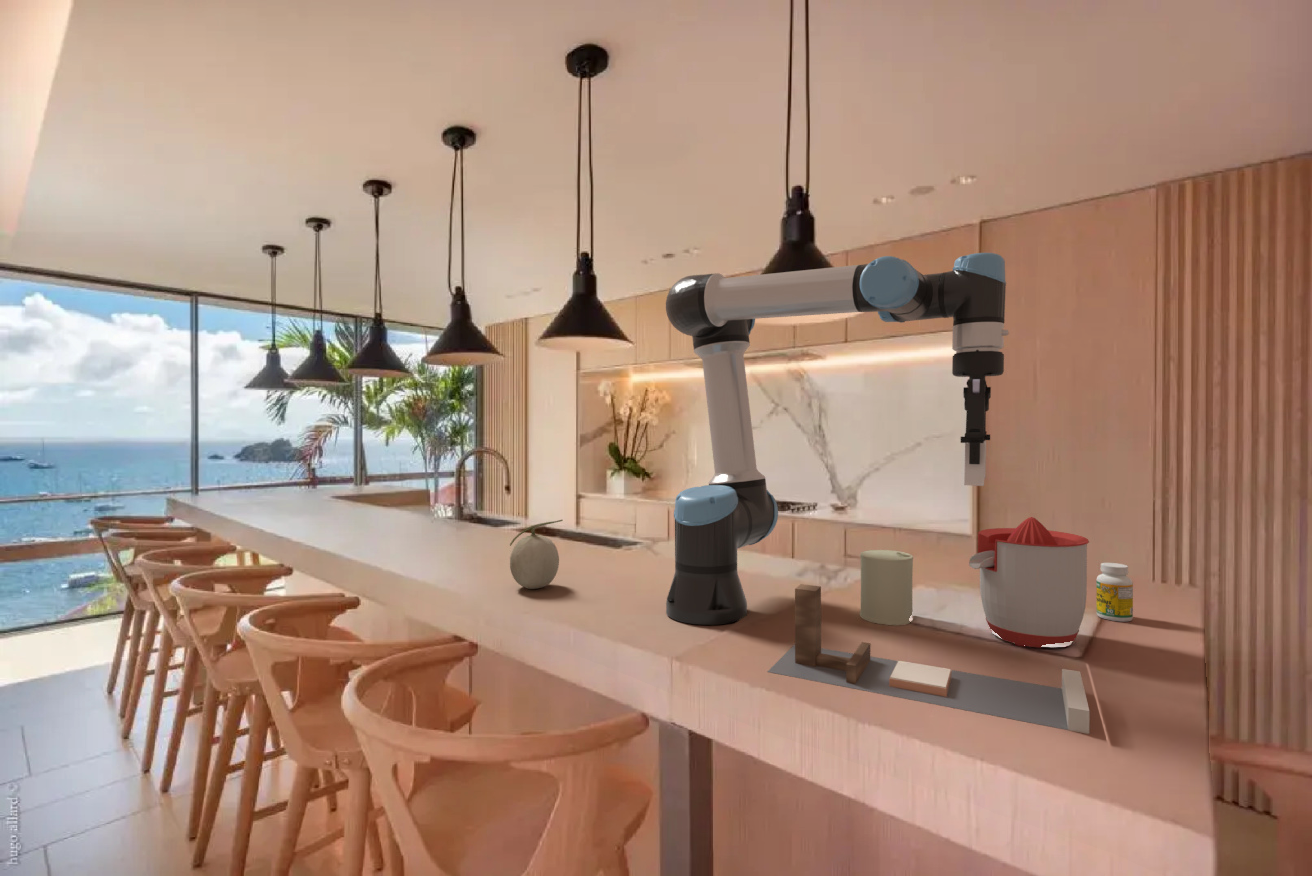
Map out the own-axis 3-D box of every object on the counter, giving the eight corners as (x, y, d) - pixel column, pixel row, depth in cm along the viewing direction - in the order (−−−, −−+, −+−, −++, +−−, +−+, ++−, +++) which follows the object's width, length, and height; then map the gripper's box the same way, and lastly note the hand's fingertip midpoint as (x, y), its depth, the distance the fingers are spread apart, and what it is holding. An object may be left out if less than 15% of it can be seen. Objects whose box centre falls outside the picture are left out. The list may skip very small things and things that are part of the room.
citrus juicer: (951, 623, 113) (951, 510, 113) (1051, 623, 113) (1052, 510, 112) (995, 655, 98) (995, 524, 97) (1111, 655, 97) (1113, 524, 97)
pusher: (787, 671, 91) (787, 594, 91) (807, 649, 100) (807, 578, 100) (855, 684, 87) (855, 603, 86) (870, 659, 95) (870, 586, 95)
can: (918, 626, 112) (918, 558, 111) (862, 623, 114) (862, 556, 113) (908, 611, 121) (908, 547, 120) (857, 609, 123) (857, 546, 122)
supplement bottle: (1140, 622, 113) (1140, 567, 113) (1110, 622, 113) (1111, 568, 113) (1117, 613, 119) (1117, 561, 118) (1089, 613, 118) (1089, 561, 118)
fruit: (497, 588, 140) (496, 519, 140) (543, 579, 148) (542, 514, 147) (522, 597, 132) (521, 525, 132) (569, 587, 140) (568, 519, 140)
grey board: (767, 674, 91) (767, 653, 91) (795, 646, 102) (795, 627, 102) (1089, 737, 72) (1089, 710, 72) (1079, 694, 84) (1080, 671, 84)
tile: (889, 686, 86) (889, 677, 86) (897, 668, 92) (897, 660, 92) (946, 696, 82) (946, 687, 82) (951, 677, 89) (951, 668, 88)
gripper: (1004, 342, 92) (1001, 490, 93) (1003, 357, 114) (1001, 476, 115) (947, 345, 95) (944, 487, 96) (956, 358, 117) (954, 474, 118)
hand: (975, 481), depth 105 cm, fingers open, 13 cm apart
